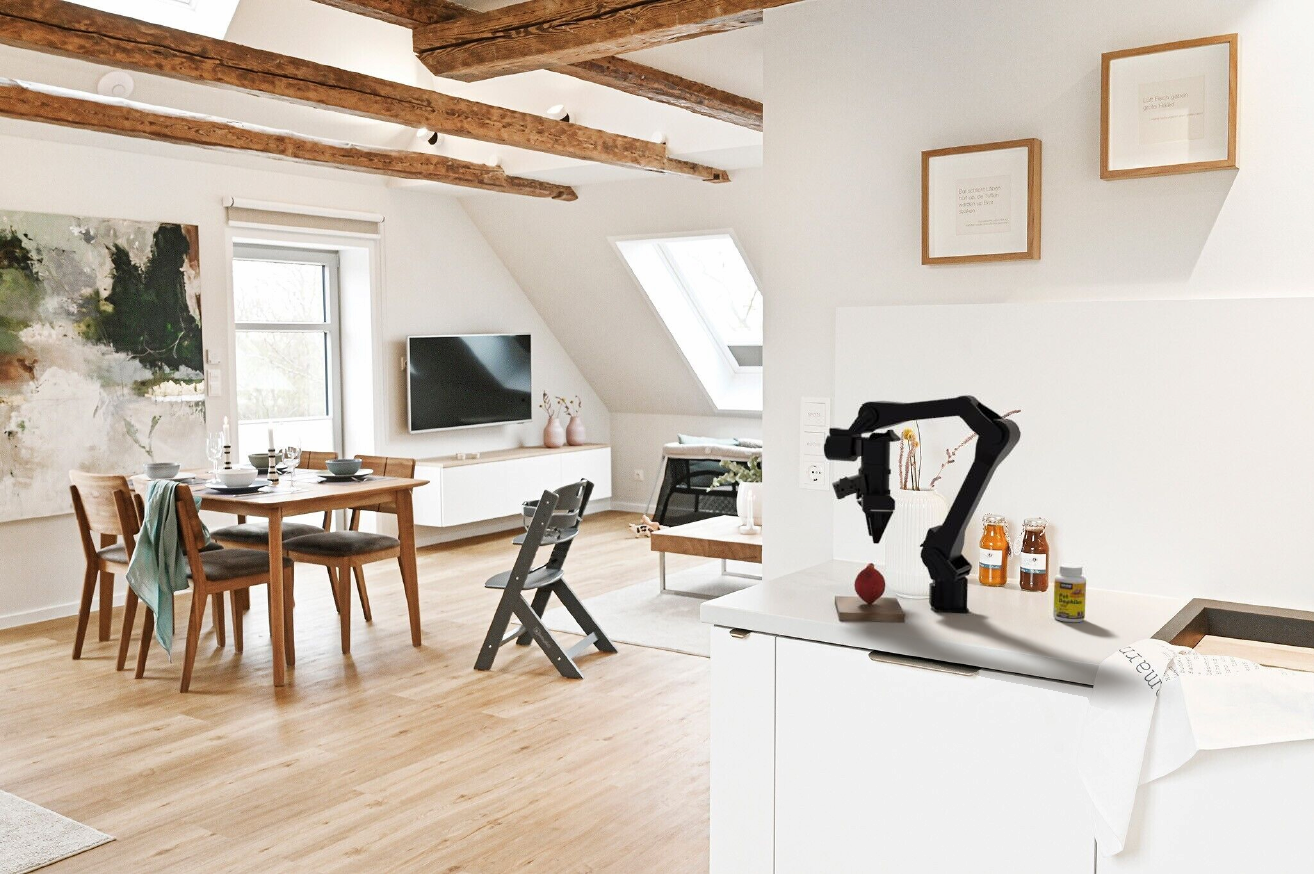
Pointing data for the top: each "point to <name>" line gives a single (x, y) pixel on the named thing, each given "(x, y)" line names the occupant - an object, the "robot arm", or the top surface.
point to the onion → (869, 584)
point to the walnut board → (869, 609)
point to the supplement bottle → (1069, 594)
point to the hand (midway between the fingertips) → (873, 539)
